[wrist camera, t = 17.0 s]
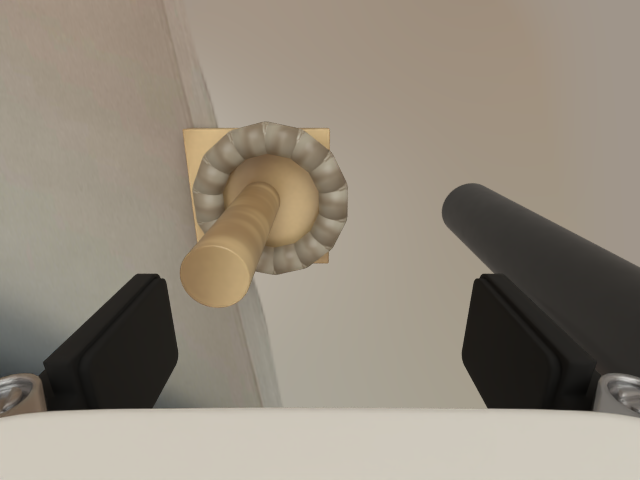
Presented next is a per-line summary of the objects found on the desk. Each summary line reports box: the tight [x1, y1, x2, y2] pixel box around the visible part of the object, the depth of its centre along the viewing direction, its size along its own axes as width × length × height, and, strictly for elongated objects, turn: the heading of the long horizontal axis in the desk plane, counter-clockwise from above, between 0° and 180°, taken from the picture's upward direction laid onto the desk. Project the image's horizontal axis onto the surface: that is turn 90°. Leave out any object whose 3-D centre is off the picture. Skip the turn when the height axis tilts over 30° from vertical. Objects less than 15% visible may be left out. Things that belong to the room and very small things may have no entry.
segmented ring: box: [192, 122, 348, 275], centre depth 23 cm, size 10×10×2 cm
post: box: [180, 128, 330, 308], centre depth 19 cm, size 9×9×12 cm
